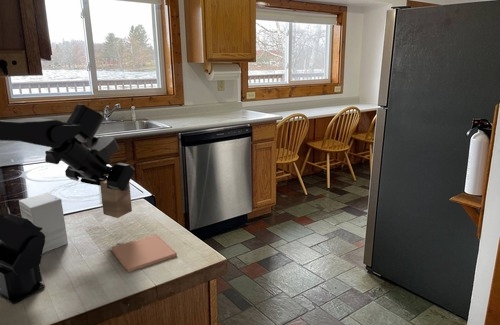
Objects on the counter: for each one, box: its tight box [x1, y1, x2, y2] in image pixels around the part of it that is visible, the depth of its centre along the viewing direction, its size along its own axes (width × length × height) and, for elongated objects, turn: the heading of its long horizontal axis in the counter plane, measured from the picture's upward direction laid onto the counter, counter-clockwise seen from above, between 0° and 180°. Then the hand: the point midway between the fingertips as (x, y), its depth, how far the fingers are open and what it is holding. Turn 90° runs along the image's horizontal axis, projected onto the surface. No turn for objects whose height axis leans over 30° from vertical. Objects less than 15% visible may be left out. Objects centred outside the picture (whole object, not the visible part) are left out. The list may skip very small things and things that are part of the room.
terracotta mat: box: [110, 233, 178, 273], centre depth 91 cm, size 12×12×1 cm
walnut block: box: [99, 179, 133, 219], centre depth 96 cm, size 5×5×9 cm
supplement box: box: [18, 192, 69, 254], centre depth 93 cm, size 7×7×13 cm
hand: (119, 187), depth 97 cm, fingers closed on walnut block, 5 cm apart
